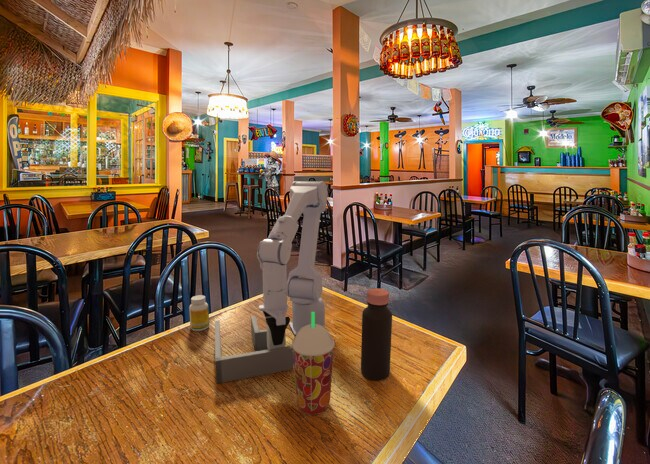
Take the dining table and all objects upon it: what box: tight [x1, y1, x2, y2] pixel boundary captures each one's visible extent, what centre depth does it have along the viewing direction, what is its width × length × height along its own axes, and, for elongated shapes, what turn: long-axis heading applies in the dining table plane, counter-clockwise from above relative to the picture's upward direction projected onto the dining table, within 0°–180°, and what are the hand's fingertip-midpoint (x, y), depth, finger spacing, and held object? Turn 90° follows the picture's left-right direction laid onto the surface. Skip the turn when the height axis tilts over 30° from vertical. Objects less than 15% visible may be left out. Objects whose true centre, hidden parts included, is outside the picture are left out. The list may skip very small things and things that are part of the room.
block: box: [265, 316, 287, 349], centre depth 82 cm, size 4×4×8 cm
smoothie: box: [291, 312, 336, 416], centre depth 65 cm, size 8×8×20 cm
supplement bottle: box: [188, 294, 210, 332], centre depth 98 cm, size 5×5×10 cm
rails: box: [214, 315, 294, 384], centre depth 85 cm, size 18×21×6 cm
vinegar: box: [360, 287, 393, 382], centre depth 75 cm, size 7×7×20 cm
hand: (276, 339), depth 82 cm, fingers closed on block, 4 cm apart
